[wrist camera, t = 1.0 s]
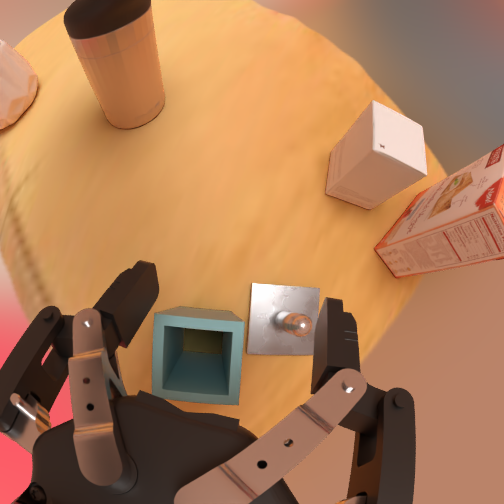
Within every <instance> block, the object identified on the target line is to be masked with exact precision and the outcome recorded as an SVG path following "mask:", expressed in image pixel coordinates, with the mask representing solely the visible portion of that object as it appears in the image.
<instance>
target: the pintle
mask: <svg viewBox="0 0 504 504" xmlns="http://www.w3.org/2000/svg"><path fill="white" fill-rule="evenodd" d="M319 293H320V288H310V287H295V286H281V285H267V284H255V283H252V284H251V296H250V309H249V323H248V336H247V350H246V352H247V354H263V355H314V337H315V327H316V323H317V319H318V309H319Z"/></svg>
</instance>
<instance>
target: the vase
mask: <svg viewBox="0 0 504 504" xmlns="http://www.w3.org/2000/svg"><path fill="white" fill-rule="evenodd" d="M37 87H38V77H37V74H36V73H35V71H34V70H33V68H32V66H31V65H30V63H29V62H28V61H27V60H26V59H25V58H24V57H23V56H22V55H20V54H19V53H18V52H17V51H16V50H15V49H13V48H12V47H11V46H10V45H9V44H8V43H6V42H5V41H3V40H0V130H1V129H3V128H5V127H7V126H9V125H11V124H13V123H15V122H16V121H17V120H18V119H19V117H20V116H21V115H22V114H23V113H24V112H25V111H26V109H27V108H28V107H29V106H30V105H31V103H32V102H33V100H34V98H35V96H36V92H37Z"/></svg>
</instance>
